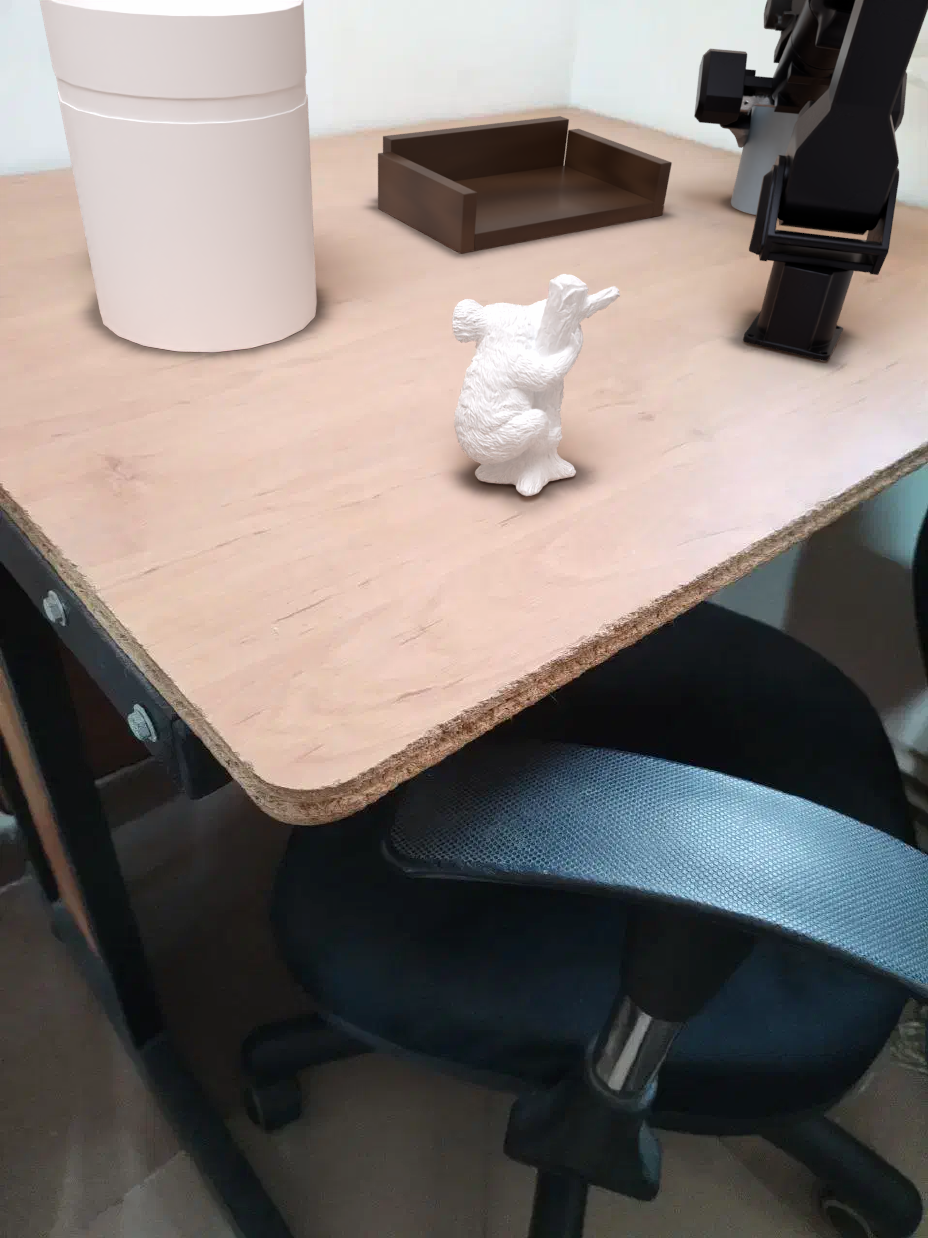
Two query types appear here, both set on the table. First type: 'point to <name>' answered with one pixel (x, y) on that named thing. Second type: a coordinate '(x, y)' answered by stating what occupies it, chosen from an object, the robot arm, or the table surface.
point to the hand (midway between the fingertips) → (774, 145)
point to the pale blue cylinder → (760, 154)
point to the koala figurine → (521, 381)
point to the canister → (190, 165)
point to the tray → (515, 182)
